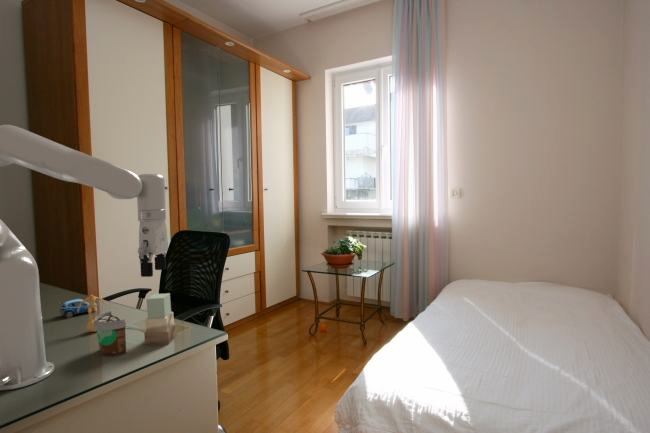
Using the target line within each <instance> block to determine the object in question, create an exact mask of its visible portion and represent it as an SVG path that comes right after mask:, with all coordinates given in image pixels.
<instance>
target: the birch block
mask: <svg viewBox="0 0 650 433" xmlns="http://www.w3.org/2000/svg"><path fill="white" fill-rule="evenodd" d="M174 318H175V317H174V311H171V313H170V314H169V315H168V316H167V317H165V318H152V319H148V317H146V318H145V329H146V331H145V332H146V333H149V332H167V331H168V330H169V329H170V328H171V327H172V326H173V325H174V323H175V319H174Z"/></svg>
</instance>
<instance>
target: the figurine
mask: <svg viewBox="0 0 650 433" xmlns="http://www.w3.org/2000/svg"><path fill="white" fill-rule="evenodd" d="M82 300H83V301H82V302H80V305H79V307H78V311H77V312H79V308H80V307H81V304H82V303H83V302H85V301H86V302H88V303H89V304H90V307H89V306H88V307H87V308H88V311H87V313H88V316H89V321H88V323H87V324H86V328H87V330H88V331H89V332H91V333H97V330H96V329H95V328H93V325H94V320H95V318H96V317H97V316H98V315H97V314H98V309H97V306H98V304H96V305H94V303H96V300H98V301H99V300H100V301H101V302H102V303H103V304H104V306H105V307H106V308H107V307H108V306H107V302H106V301H105V300H104V299H103V298H101V297H98V296H94V295H93V294H90V295H89V296H88V297H86V298H85V299H82ZM91 308H93V310H94V319H93V318H92V313H91V311H92V309H91Z"/></svg>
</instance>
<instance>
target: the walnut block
mask: <svg viewBox="0 0 650 433" xmlns="http://www.w3.org/2000/svg"><path fill="white" fill-rule="evenodd" d="M143 335H144V345H145V346H154V345H155V346H159V345H170V344H171V343H172V342H173V341H174V339H176V337H177V336H178V325H177V323H175V322H174V325H173V326H172V327H171V328H170V329H169V330H168V331H167V332H149V333H146V331H145V332H144V334H143Z"/></svg>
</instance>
